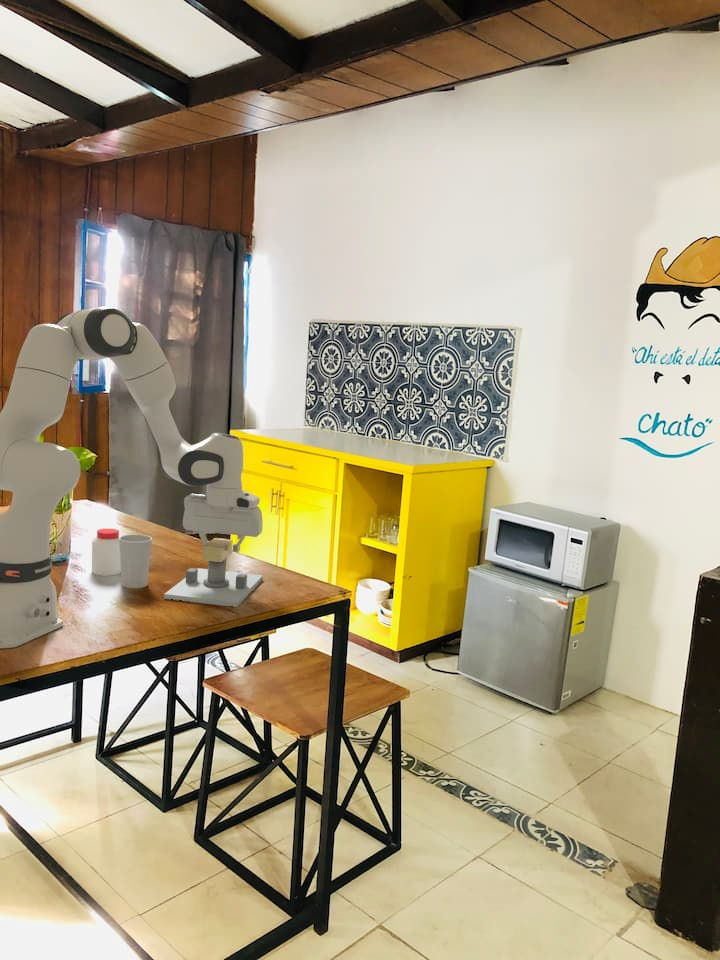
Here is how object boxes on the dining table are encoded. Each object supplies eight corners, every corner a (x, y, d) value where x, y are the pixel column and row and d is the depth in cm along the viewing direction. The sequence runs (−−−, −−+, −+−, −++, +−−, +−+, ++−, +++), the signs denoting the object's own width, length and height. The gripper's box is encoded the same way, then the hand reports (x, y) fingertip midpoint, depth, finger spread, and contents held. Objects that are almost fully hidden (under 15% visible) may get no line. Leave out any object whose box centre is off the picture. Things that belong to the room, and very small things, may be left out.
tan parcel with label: (221, 566, 194) (221, 547, 193) (202, 564, 194) (203, 545, 194) (231, 557, 203) (232, 539, 202) (213, 555, 203) (214, 537, 203)
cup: (134, 577, 204) (136, 532, 202) (157, 584, 200) (159, 538, 198) (110, 584, 197) (112, 537, 195) (134, 591, 193) (135, 543, 191)
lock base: (236, 607, 187) (238, 578, 186) (164, 598, 189) (165, 569, 188) (262, 579, 210) (264, 553, 209) (197, 572, 213) (198, 546, 211)
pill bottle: (103, 577, 202) (104, 535, 200) (85, 570, 207) (86, 530, 205) (128, 572, 208) (129, 531, 207) (110, 565, 213) (111, 526, 211)
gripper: (180, 494, 197) (177, 548, 200) (259, 502, 195) (256, 557, 197) (188, 490, 204) (186, 542, 206) (265, 498, 201) (262, 551, 203)
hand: (221, 549), depth 201 cm, fingers open, 6 cm apart
